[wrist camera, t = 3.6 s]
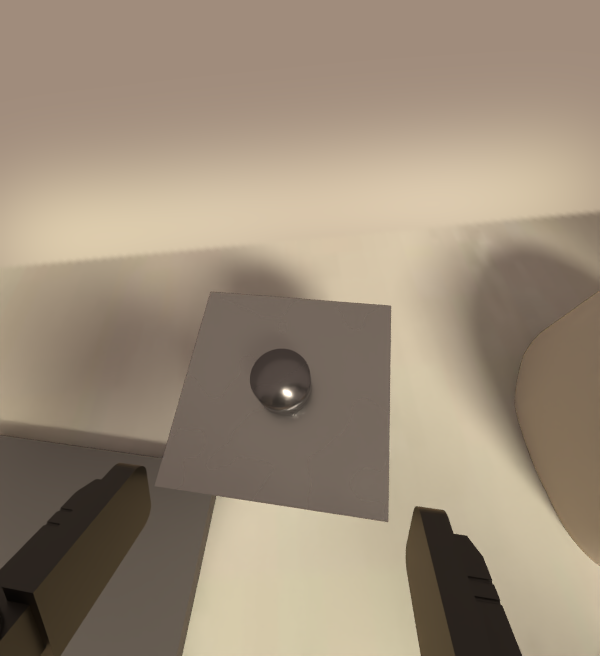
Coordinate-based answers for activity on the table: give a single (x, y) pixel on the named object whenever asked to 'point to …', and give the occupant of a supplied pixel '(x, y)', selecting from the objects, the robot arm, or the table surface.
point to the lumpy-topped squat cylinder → (566, 419)
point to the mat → (139, 563)
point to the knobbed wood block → (286, 406)
